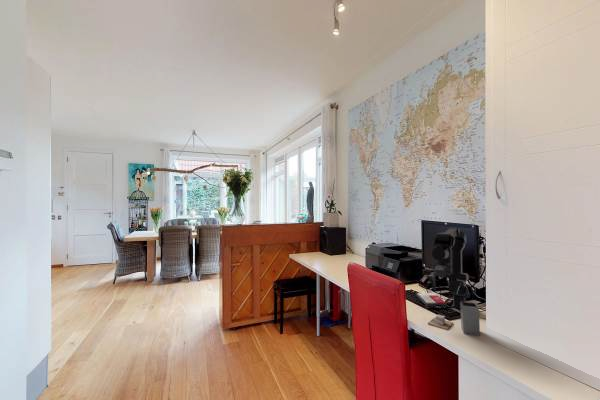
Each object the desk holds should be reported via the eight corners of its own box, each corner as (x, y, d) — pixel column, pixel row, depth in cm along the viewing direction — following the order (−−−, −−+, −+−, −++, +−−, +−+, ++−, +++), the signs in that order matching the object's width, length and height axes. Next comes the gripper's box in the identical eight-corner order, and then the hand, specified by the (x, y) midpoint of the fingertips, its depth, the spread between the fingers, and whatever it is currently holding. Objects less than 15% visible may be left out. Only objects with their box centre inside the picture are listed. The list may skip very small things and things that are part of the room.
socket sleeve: (461, 327, 120) (460, 301, 120) (476, 329, 117) (475, 302, 118) (463, 333, 114) (462, 305, 115) (480, 336, 112) (478, 307, 112)
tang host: (434, 319, 130) (434, 311, 130) (453, 325, 124) (452, 316, 124) (427, 325, 124) (427, 316, 124) (447, 331, 118) (446, 321, 118)
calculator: (426, 302, 143) (416, 292, 158) (426, 310, 143) (416, 299, 158) (447, 302, 142) (434, 292, 157) (447, 310, 142) (434, 299, 157)
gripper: (418, 257, 127) (418, 291, 125) (463, 262, 114) (463, 299, 112) (426, 257, 135) (426, 288, 133) (468, 261, 122) (469, 296, 120)
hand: (444, 292), depth 124 cm, fingers open, 9 cm apart
